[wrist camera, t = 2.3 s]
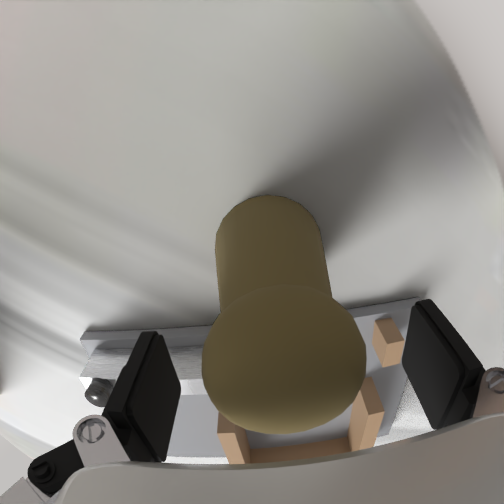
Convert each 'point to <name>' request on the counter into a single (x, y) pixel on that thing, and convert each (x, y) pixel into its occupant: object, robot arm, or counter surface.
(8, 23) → the counter surface
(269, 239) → the cork
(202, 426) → the dock
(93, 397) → the bar
